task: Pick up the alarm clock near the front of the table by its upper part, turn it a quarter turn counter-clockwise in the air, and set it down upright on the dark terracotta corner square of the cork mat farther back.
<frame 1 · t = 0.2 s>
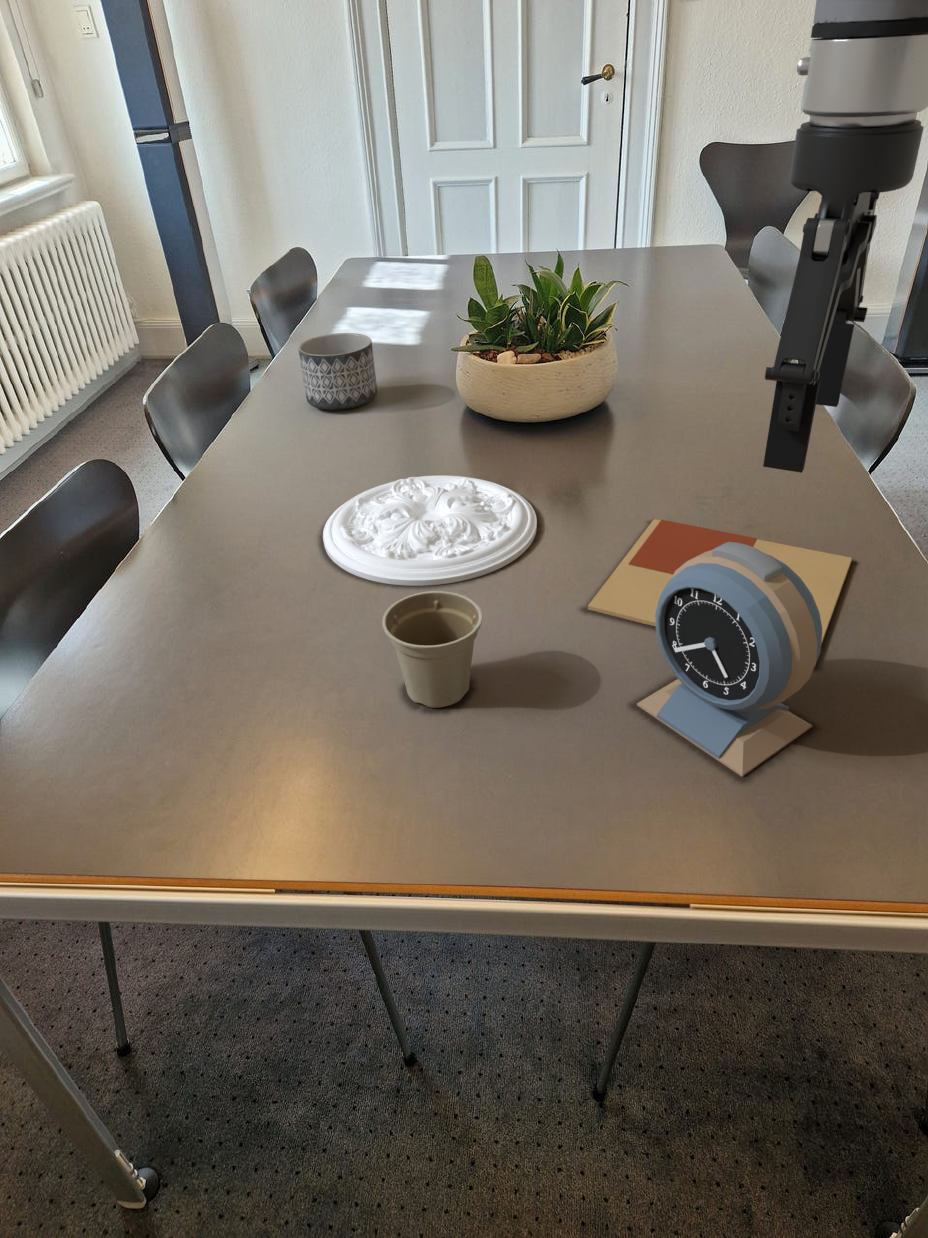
hand: (803, 433, 66), 26 cm above the table, tool pointing down, fingers open, 13 cm apart
flower pot: (438, 690, 85), on the table
alarm clock: (721, 717, 79), on the table
mat: (722, 585, 97), on the table
planter: (343, 402, 153), on the table
ceiling medallion: (430, 529, 112), on the table
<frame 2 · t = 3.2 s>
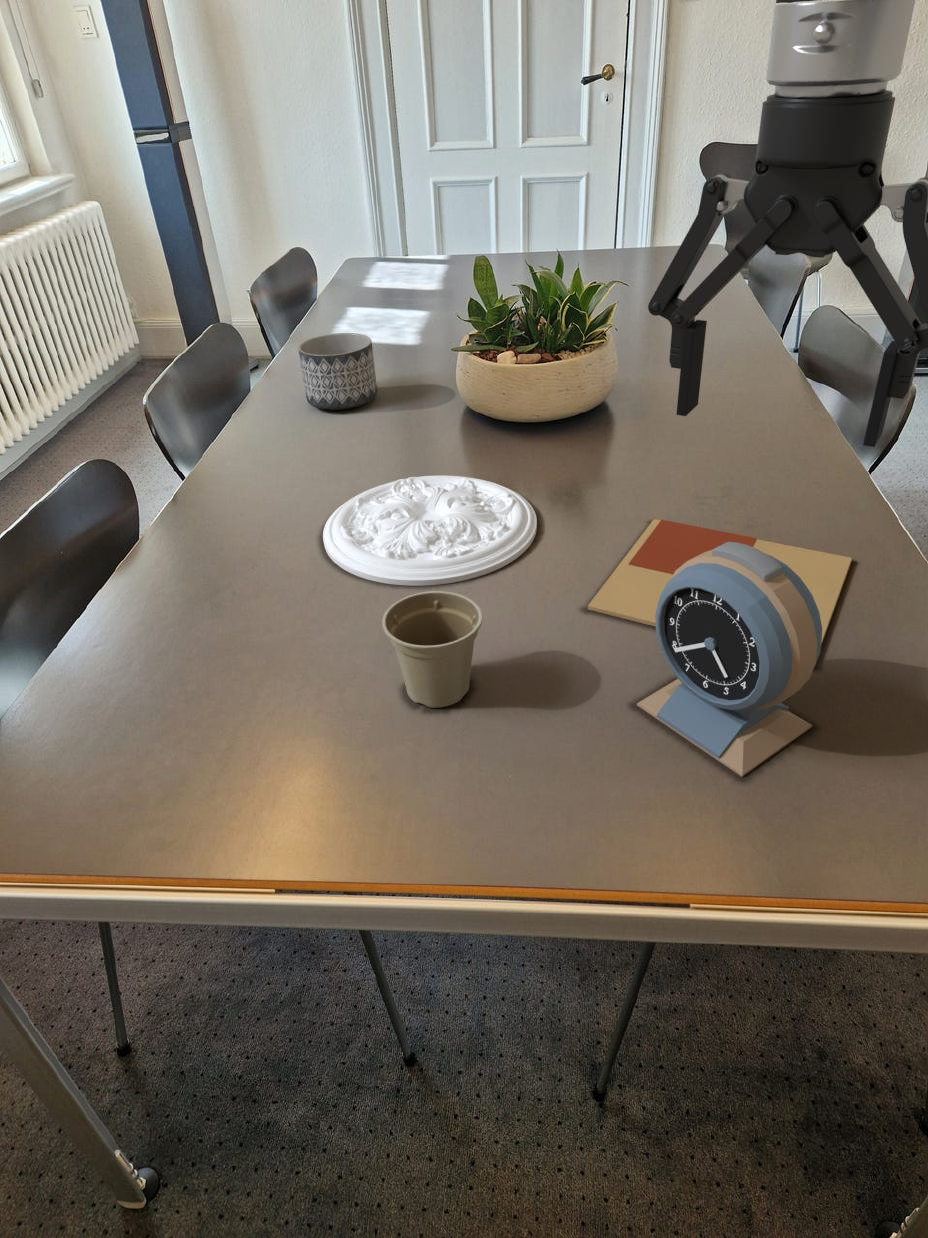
hand: (775, 424, 63), 28 cm above the table, tool pointing down, fingers open, 13 cm apart
nothing on the table moved.
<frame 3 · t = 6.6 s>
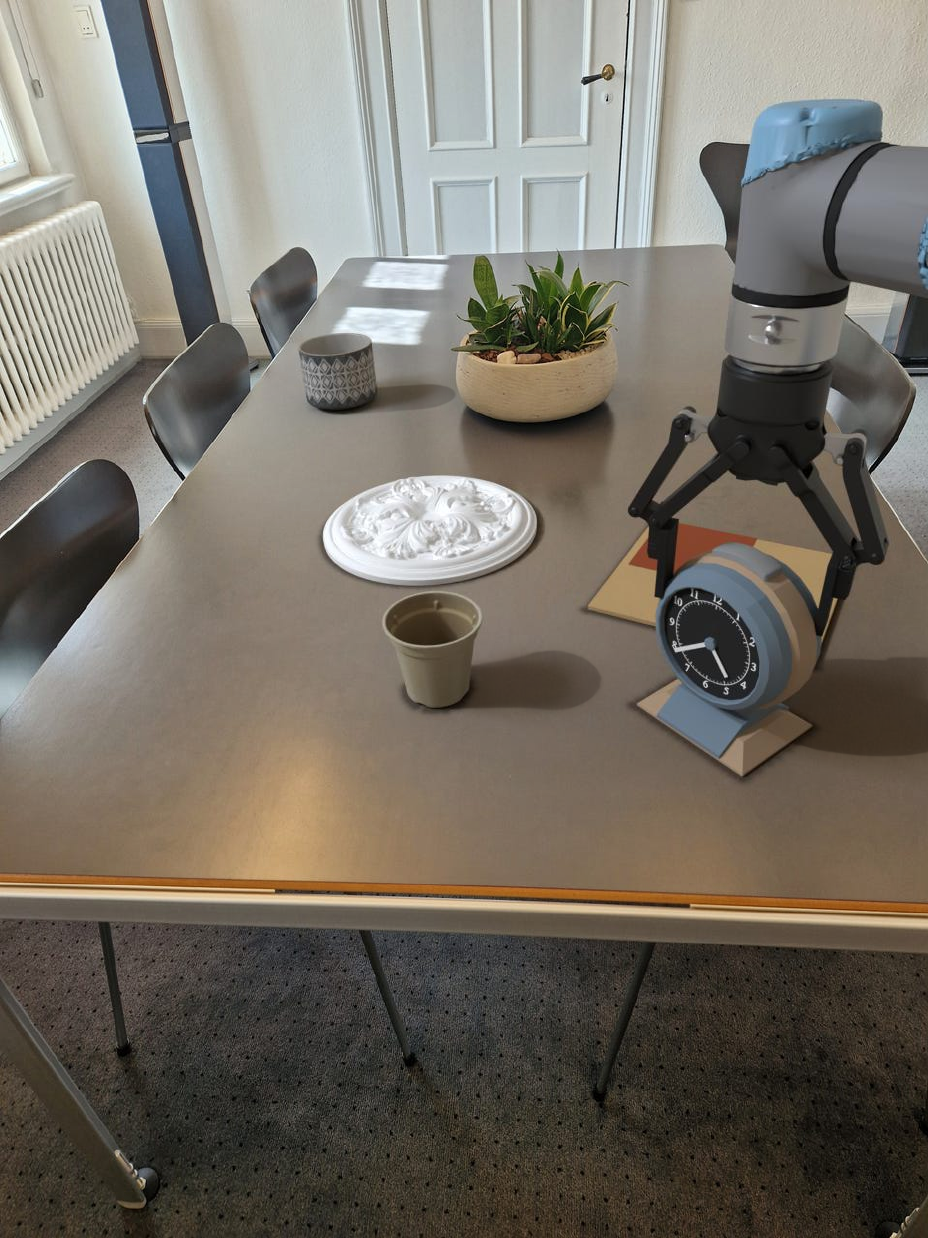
hand: (738, 608, 72), 12 cm above the table, tool pointing down, fingers closed on alarm clock, 12 cm apart
alarm clock: (721, 717, 79), on the table, touching gripper
everything else where it was.
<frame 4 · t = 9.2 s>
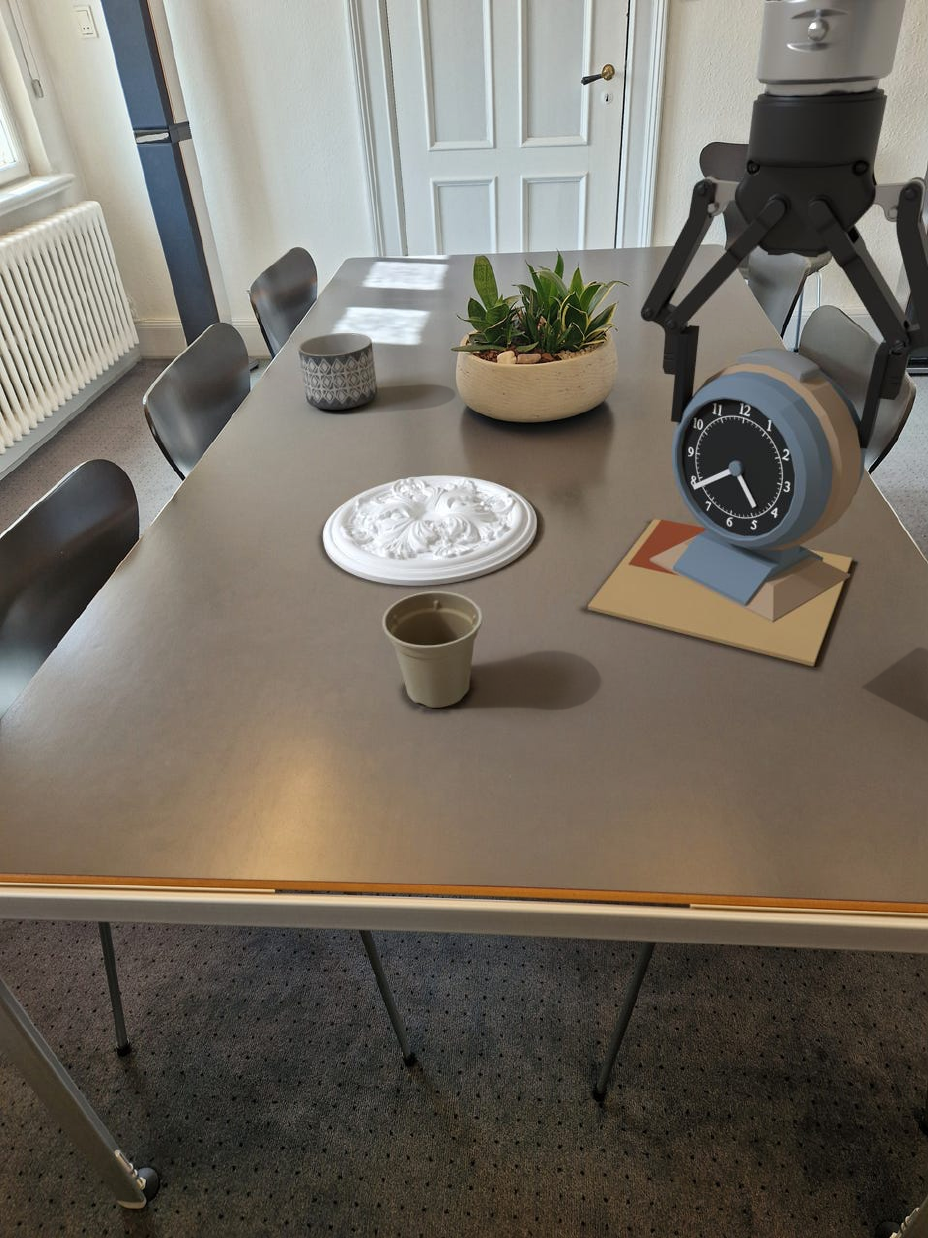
hand: (768, 428, 63), 28 cm above the table, tool pointing down, fingers closed on alarm clock, 12 cm apart
alarm clock: (746, 570, 70), point 16 cm above the table, touching gripper
everything else where it was.
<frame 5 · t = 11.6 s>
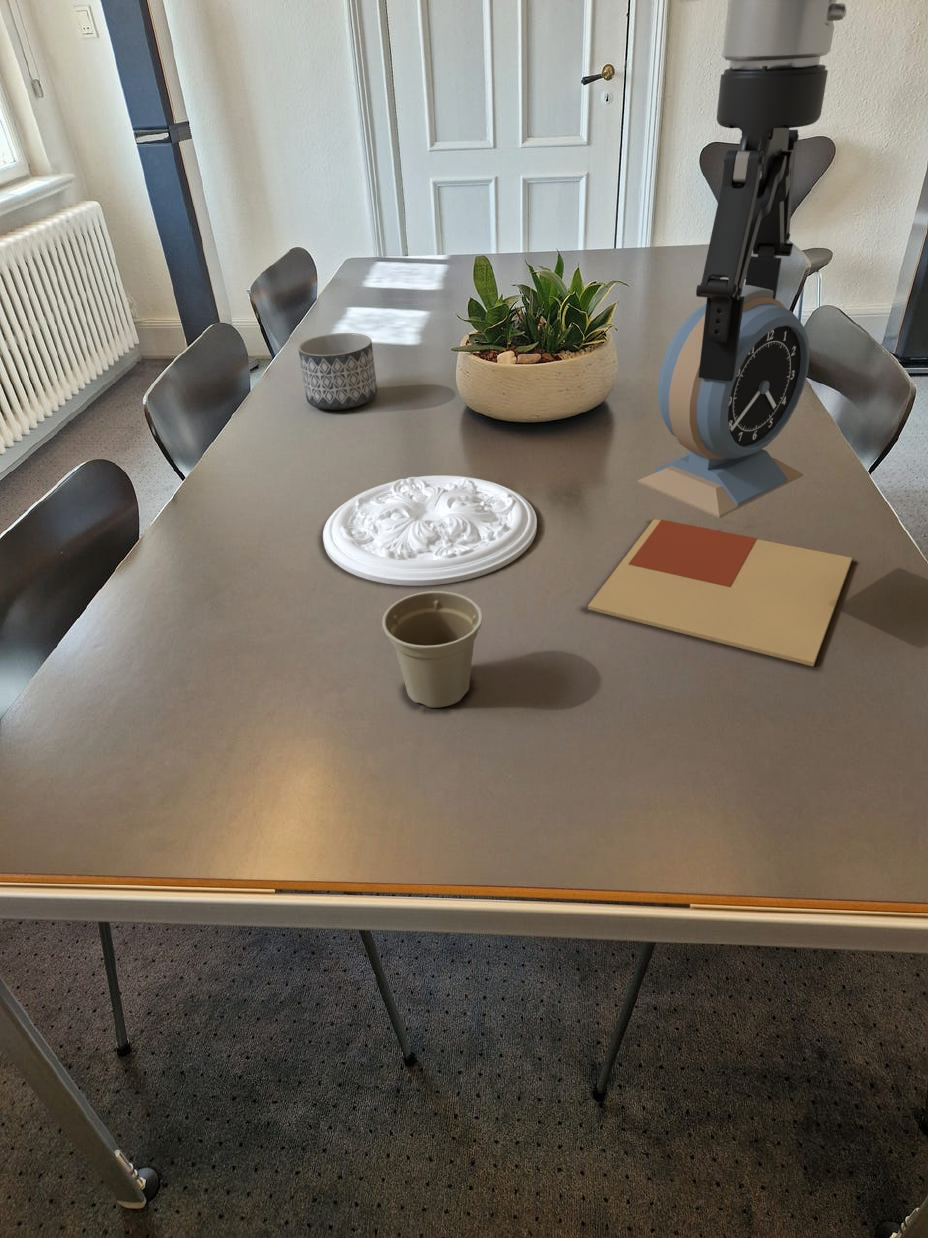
hand: (736, 353, 75), 29 cm above the table, tool pointing down, fingers closed on alarm clock, 12 cm apart
alarm clock: (719, 481, 82), point 17 cm above the table, touching gripper
everything else where it was.
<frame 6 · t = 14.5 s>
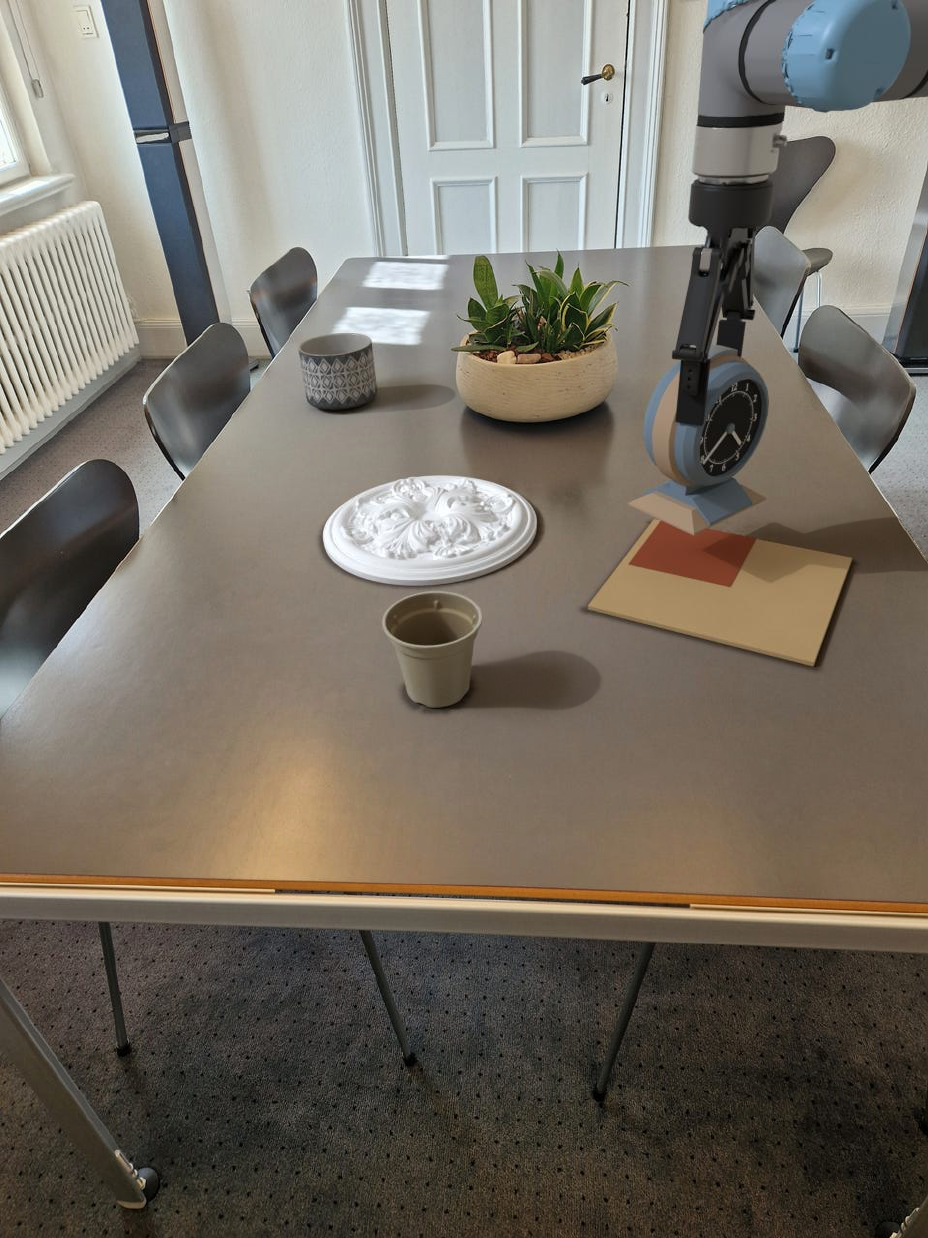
hand: (708, 400, 91), 20 cm above the table, tool pointing down, fingers closed on alarm clock, 12 cm apart
alarm clock: (696, 503, 98), point 7 cm above the table, touching gripper
everything else where it was.
when the fingers open (13 cm above the table, at t = 16.9 s): alarm clock stays where it is, resting on mat.
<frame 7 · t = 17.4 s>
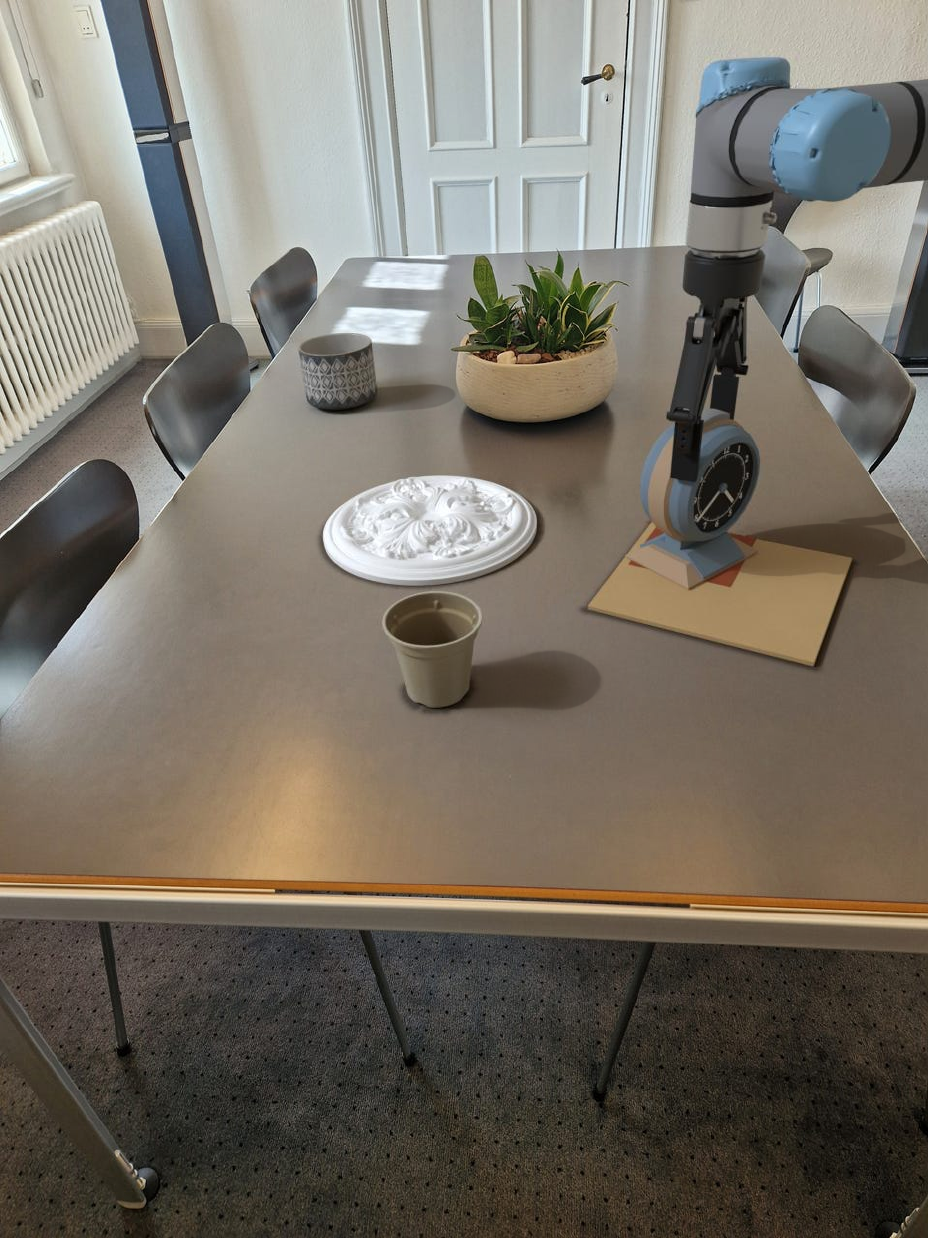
hand: (702, 454, 94), 14 cm above the table, tool pointing down, fingers open, 13 cm apart
alarm clock: (691, 555, 102), point 1 cm above the table, touching mat
everything else where it was.
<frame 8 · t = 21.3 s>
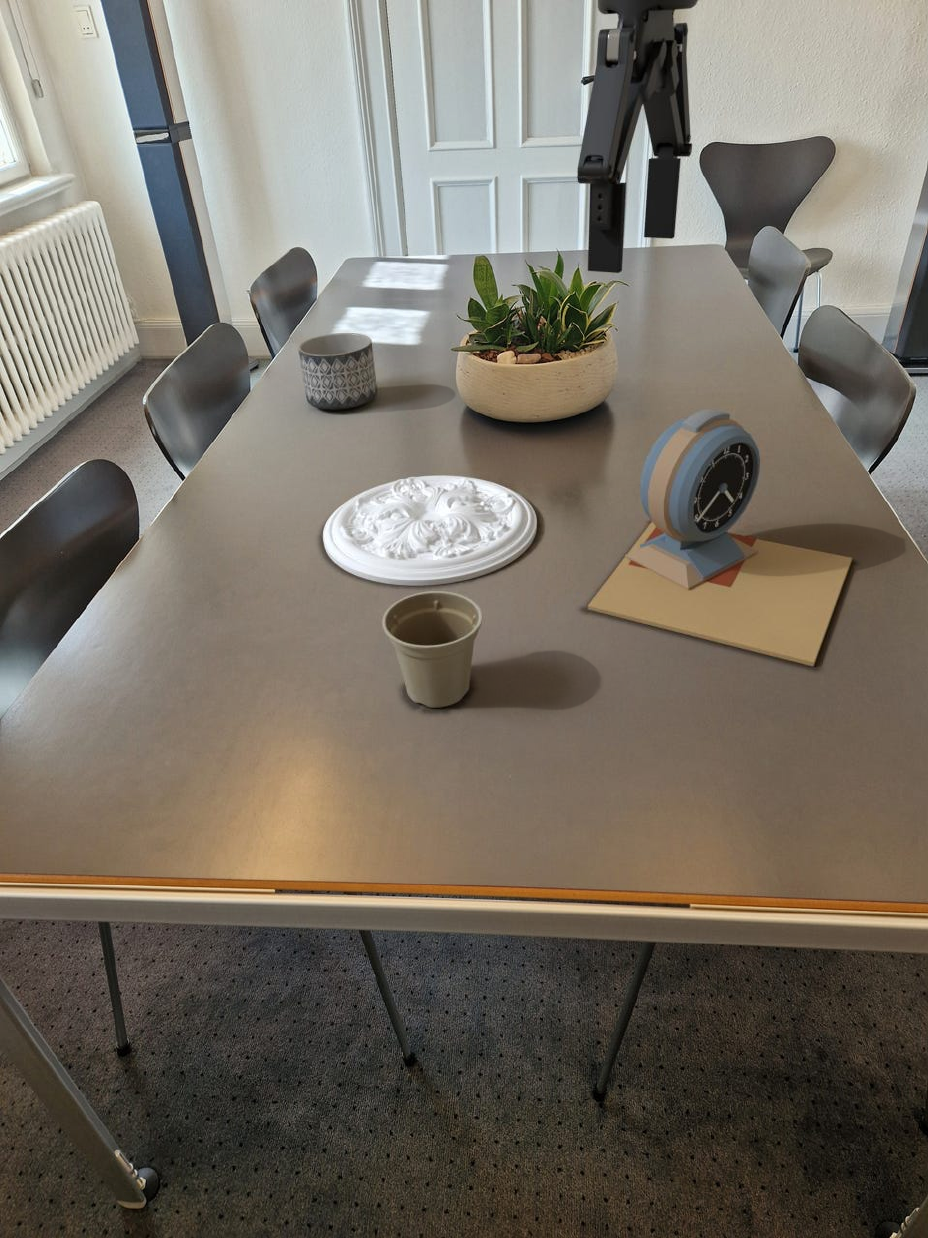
hand: (633, 253, 75), 37 cm above the table, tool pointing down, fingers open, 13 cm apart
nothing on the table moved.
at the end: alarm clock inside the target area on the mat (1.0 cm from its centre), point 0.5 cm above the mat's base; alarm clock tilted 0°; the gripper is holding nothing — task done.
